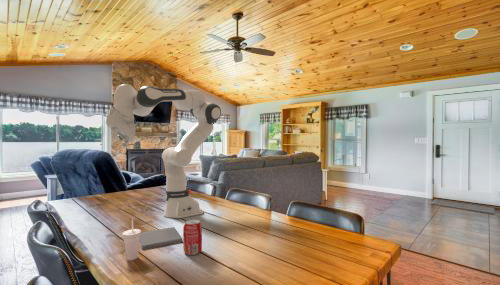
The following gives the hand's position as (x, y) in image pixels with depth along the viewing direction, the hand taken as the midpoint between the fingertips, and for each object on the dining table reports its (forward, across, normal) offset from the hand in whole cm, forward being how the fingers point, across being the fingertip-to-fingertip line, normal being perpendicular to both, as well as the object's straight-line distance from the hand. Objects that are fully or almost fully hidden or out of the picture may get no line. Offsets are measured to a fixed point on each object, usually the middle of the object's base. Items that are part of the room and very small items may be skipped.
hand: (120, 143), depth 115 cm
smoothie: (+48, -3, -10) cm, 49 cm away
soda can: (+49, +2, -31) cm, 58 cm away
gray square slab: (+42, +14, -14) cm, 46 cm away
